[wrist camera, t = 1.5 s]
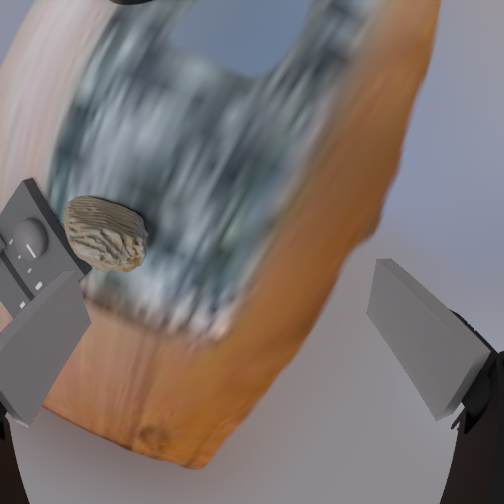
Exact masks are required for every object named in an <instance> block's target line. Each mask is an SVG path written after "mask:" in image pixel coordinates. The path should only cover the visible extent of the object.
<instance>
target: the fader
mask: <svg viewBox="0 0 504 504" xmlns="http://www.w3.org/2000/svg"><path fill="white" fill-rule="evenodd" d="M5 247H6V245H5V243H4V242H3V240H2V238H1V237H0V255H1V254H2V252H3V250H4V249H5Z"/></svg>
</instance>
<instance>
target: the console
mask: <svg viewBox="0 0 504 504" xmlns="http://www.w3.org/2000/svg"><path fill="white" fill-rule="evenodd" d="M0 237H1V238H2V240H3V242H4V243H5V245H6V247H5V249H4V250H3V252H2V254H1V255H0V301H1V302H2V303H3V305H4V306H5V308H6V309H7V310H8V312H9V313H10V314H11V316H12V317H13V318H15V317H16V316H17V315H18V314H19V313H20V312H21V311H22V310H23V309H24V308H25V307H26V306H27V305H28V304H29V303H30V302H31V301H32V300H33V299H34V298H35V297H36V296H37V295H38V294H39V293H40V292H41V291H42V290H43V289H44V288H45V287H46V286H47V285H48V284H50V283H51V282H52V281H53V280H54V279H55V278H56V277H57V276H58V275H59V274H61V273H62V272H63V271H76V275H77V279H78V281H79V280H80V279H81V278H83V277H84V276H85V275H86V274H87V273H88V272H89V271H90V270H91V269H92V268H91V267H90V265H89V264H88V263H87V262H86V261H84V260H82V259H80V258H79V257H78V256H77V255H76V254H75V253H74V251H73V249H72V248H71V246H70V244H69V241H68V238H67V235H66V232H65V231H64V229H63V228H62V226H61V225H60V223H59V222H58V220H57V219H56V217H55V215H54V214H53V212H52V211H51V209H50V208H49V206H48V204H47V203H46V201H45V199H44V198H43V196H42V194H41V193H40V191H39V189H38V187H37V186H36V184H35V182H34V180H33V179H32V178H30V179H26V180H23V181H22V182H21V184H20V185H19V186H18V188H17V189H16V191H15V192H14V194H13V195H12V197H11V198H10V200H9V201H8V203H7V205H6V206H5V208H4V209H3V211H2V213H1V214H0Z"/></svg>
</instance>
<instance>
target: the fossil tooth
mask: <svg viewBox="0 0 504 504" xmlns="http://www.w3.org/2000/svg"><path fill="white" fill-rule="evenodd" d="M143 222H144V221H143V219H142V218H141V217H140V216H139V215H138V214H137V213H135V212H134V211H130V210H128V208H126V207H123V206H121V205H118V204H112V203H110V202H107V201H105V200H99V199H96V198H93V197H90V196H85V197H83V196H81V198H76V199H73V200H71V201H70V202H68V206H66V208H65V214H64V225H65V227H64V228H65V232H66V235H67V238H68V241H69V244H70V246H71V248H72V249H73V251H74V253H75V254H76V255H77V256H78V257H79V258H80V259H82V260H84V261H86V262H87V263H88V264H90V265H91V266H93V267H94V268H96V269H98V270H100V271H103V272H109V271H110V270H114V271H120V272H129V271H132V270H134V269H135V268H136V267H137V266H140V265H141V264H142V262H143V260H144V259H145V256H146V246H147V242H146V241H147V238H148V232H147V231H146V230H145V227H144V224H143Z"/></svg>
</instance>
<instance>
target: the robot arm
mask: <svg viewBox="0 0 504 504" xmlns="http://www.w3.org/2000/svg"><path fill="white" fill-rule="evenodd" d="M110 1H112V2H114V3H118V4H138V3H143V2H147V1H151V0H110ZM367 315H368V316H369V318H370V319H371V321H372V322H373V324H374V325H375V326H376V328H377V329H378V331H379V332H380V334H381V335H382V336H383V338H384V339H385V341H386V342H387V344H388V345H389V347H390V348H391V350H392V351H393V353H394V354H395V356H396V357H397V359H398V360H399V361H400V363H401V365H402V366H403V368H404V369H405V371H406V373H407V374H408V376H409V377H410V379H411V380H412V382H413V383H414V385H415V387H416V388H417V390H418V392H419V393H420V394H421V396H422V398H423V400H424V401H425V403H426V404H427V406H428V407H429V409H430V411H431V413H432V414H433V416H434V418H435V419H436V421H438V420H441V419H443V418H445V417H447V416H449V415H451V414H453V413H454V411H455V410H456V409H457V407H458V406H459V404H460V403H461V402H462V403H463V405H464V406H465V408H464V409H463V411H462V412H461V413H460V415H459V416H458V418H457V419H456V420H455V421H454V423H453V424H452V427H451V429H454V427H455V426H456V425H457V424H458V422H460V424H459V427H458V429H457V430H458V436H457V442H456V446H455V451H454V456H453V461H452V464H451V468H450V473H449V476H448V479H447V483H446V486H445V489H444V492H443V496H442V498H441V501H440V504H504V351H502V352H500V353H497V352H496V351H495V350H494V349H493V348H492V347H491V345H490V344H489V343H488V342H487V341H486V340H485V339H484V338H483V337H482V336H481V335H480V334H479V333H478V332H477V331H474V328H473V327H471V325H470V324H468V323H467V321H465V320H464V319H463V318H462V317H461V316H460V315H459V314H457V313H455V312H454V311H452V310H450V309H448V308H447V307H446V306H445V305H444V304H443V303H441V302H440V301H439V300H438V299H437V298H436V297H435V296H434V295H433V294H432V293H430V292H429V291H428V290H427V289H426V288H425V287H424V286H423V285H421V284H420V283H419V282H418V281H417V280H416V279H415V278H413V277H412V276H411V275H410V274H409V273H408V272H406V271H405V270H404V269H403V268H402V267H400V266H399V265H398V264H397V263H396V262H394V261H393V260H392V259H377V260H376V266H375V272H374V278H373V283H372V289H371V294H370V299H369V304H368V309H367ZM90 324H91V320H90V318H89V315H88V312H87V309H86V306H85V302H84V299H83V296H82V293H81V289H80V286H79V282H78V279H77V275H76V271H63V272H62V273H61V274H59V275H58V276H57V277H56V278H55V279H54V280H53V281H52V282H51V283H50V284H48V285H47V286H46V287H45V288H44V289H43V290H42V291H41V292H40V293H39V294H38V295H37V296H36V297H35V298H34V299H33V300H32V301H31V302H30V303H29V304H28V305H27V306H26V307H25V308H24V309H23V310H22V311H21V312H20V313H19V314H18V315H17V316H16V317H15V318H14V319H13V320H12V321H11V322H10V323H9V324H8V325H7V326H6V327H5V329H4V330H3V331H2V332H1V333H0V504H30V503H29V501H28V498H27V495H26V492H25V489H24V486H23V483H22V479H21V476H20V472H19V468H18V464H17V460H16V456H15V452H14V447H13V442H12V436H11V431H10V425H9V422H8V419H7V418H6V417H5V415H6V413H7V411H8V413H9V414H10V415H11V416H12V418H13V419H14V420H15V421H16V422H17V423H19V424H22V425H24V426H26V427H29V428H30V427H31V425H32V423H33V421H34V419H35V417H36V415H37V413H38V411H39V409H40V407H41V405H42V403H43V402H44V400H45V398H46V396H47V394H48V392H49V391H50V389H51V387H52V385H53V384H54V382H55V380H56V378H57V377H58V375H59V373H60V372H61V370H62V368H63V367H64V365H65V363H66V362H67V360H68V358H69V357H70V355H71V353H72V352H73V350H74V349H75V347H76V346H77V344H78V342H79V341H80V339H81V338H82V336H83V335H84V333H85V332H86V330H87V329H88V327H89V326H90Z"/></svg>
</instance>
